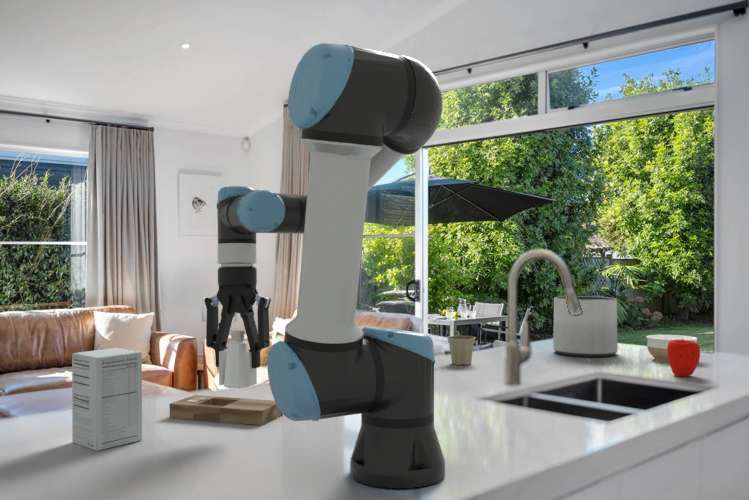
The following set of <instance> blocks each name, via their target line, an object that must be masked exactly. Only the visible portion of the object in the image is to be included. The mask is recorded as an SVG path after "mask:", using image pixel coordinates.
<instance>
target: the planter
mask: <svg viewBox="0 0 749 500" xmlns="http://www.w3.org/2000/svg"><path fill="white" fill-rule="evenodd" d="M577 298H578V300H579V302H580V305H581V308H582V311H583V314H582V315H579V316H571V315H570V314H569V312H568V308H567V304H566V300H565V296H555V297H553V340H552V342H553V350H554V351H555V352H556V354H557V353H558V354H559V355H562V356H563V355H564V356H567V357H569V356H570V357H577V358H605V357H606V358H607V357H612V356H614V355H616V353H618V300H617V298H615V297H606V296H587V295H586V296H582V295H581V296H579V295H577Z"/></svg>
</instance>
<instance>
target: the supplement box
mask: <svg viewBox="0 0 749 500" xmlns="http://www.w3.org/2000/svg"><path fill="white" fill-rule="evenodd" d="M142 353H143V352H142V351H138V350H132V349H126V348H121V347H120V348H119V347H112V348H104V349H96V350H89V351H88V350H87V351H81V352H74V353H73V352H72V353H71V354H72V355H71V365H72V366H71V378H72V379H71V385H72V387H71V389H72V392H71V393H72V394H71V395H72V397H71V398H72V400H71V401H72V403H71V404H72V409H71V411H72V412H71V413H72V421H71V422H72V427H71V428H72V443H74V444H76V445H79V446H82V447H85V448H88V449H90V450H93V451H96V452H98V451H102V450H106V449H110V448H116V447H119V446H122V445H128V444H131V443H136V442H139V441H142V440H143V392H142V391H143V390H142V389H143V378H142V377H143V376H142V375H143V371H142V370H143V362H142V361H143V360H142V357H143V356H142Z"/></svg>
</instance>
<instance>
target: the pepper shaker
mask: <svg viewBox="0 0 749 500" xmlns="http://www.w3.org/2000/svg"><path fill="white" fill-rule="evenodd" d="M229 333H230V342H227V349H226V350H227V359H226V369H225V379H224V385H223V387H224V388H226V389H227V388H228V389H243V388H249V387H250V386H247V359H246V352H249V343H248V341H245V334H246V331H245V329H244V328H240V329H239V328H238V329H237V328H235V329H230V332H229Z"/></svg>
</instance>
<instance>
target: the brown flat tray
mask: <svg viewBox="0 0 749 500" xmlns="http://www.w3.org/2000/svg"><path fill="white" fill-rule="evenodd" d="M281 415H282V416H284V415H283V414H282V412H281V411H280V410H279V408H278V406H277V404H276V402H275V400H270V399H269V400H268V399H259V398H258V399H257V398H255V399H254V398H241V397H230V396H229V397H227V396H216V395H215V396H213V395H201V394H199V395H198V394H193V395H191V396H189V397H185V398H182V399H179V400H177V401H174V402H171V403H169V419H178V420H179V419H180V420H191V421H192V420H194V421H204V422H215V423H216V422H217V423H228V424H237V423H242V424H241V425H249V424H255V425H254V426H261V425H262V426H264V425H266V424H268V423H270V422H272V421H274V420H276V419H278V418H280V417H282V416H281ZM279 416H280V417H279ZM277 417H278V418H277ZM275 418H276V419H275ZM273 419H274V420H273ZM271 420H272V421H271ZM269 421H270V422H269ZM267 422H268V423H267ZM265 423H266V424H265ZM263 424H264V425H263Z"/></svg>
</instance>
